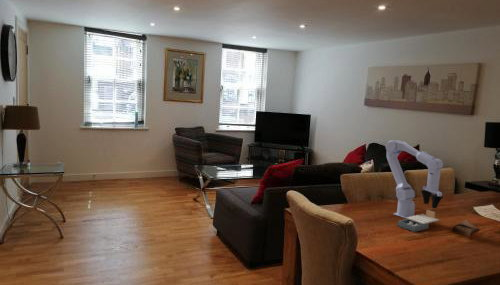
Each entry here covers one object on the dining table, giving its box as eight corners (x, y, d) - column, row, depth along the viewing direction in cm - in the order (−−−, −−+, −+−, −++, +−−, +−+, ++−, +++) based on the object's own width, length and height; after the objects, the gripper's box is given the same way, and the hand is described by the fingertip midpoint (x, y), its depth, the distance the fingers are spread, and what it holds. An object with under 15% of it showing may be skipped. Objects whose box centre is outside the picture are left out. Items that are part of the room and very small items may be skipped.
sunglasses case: (470, 236, 179) (464, 223, 180) (456, 239, 183) (450, 226, 185) (479, 228, 191) (474, 216, 193) (466, 232, 196) (460, 220, 198)
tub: (412, 223, 195) (413, 217, 194) (428, 228, 187) (429, 223, 187) (397, 226, 188) (398, 220, 187) (413, 232, 180) (413, 226, 180)
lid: (422, 217, 199) (423, 208, 199) (439, 223, 191) (440, 213, 191) (405, 221, 191) (406, 211, 191) (422, 226, 183) (423, 217, 183)
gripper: (418, 177, 199) (415, 201, 201) (434, 184, 185) (430, 209, 187) (430, 178, 200) (427, 202, 202) (447, 184, 186) (443, 210, 187)
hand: (430, 205), depth 194 cm, fingers open, 7 cm apart
